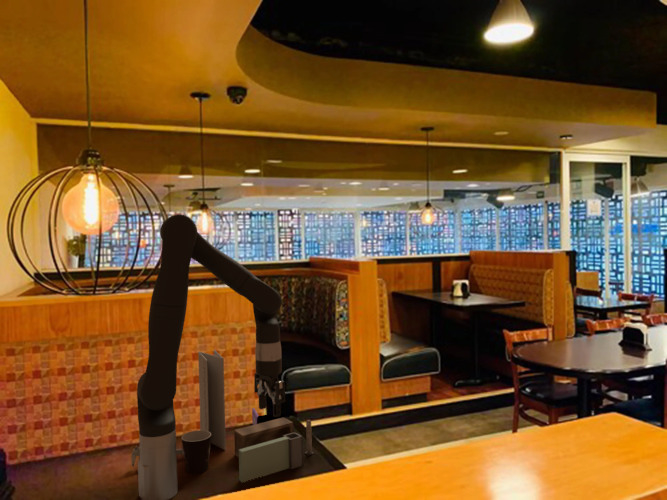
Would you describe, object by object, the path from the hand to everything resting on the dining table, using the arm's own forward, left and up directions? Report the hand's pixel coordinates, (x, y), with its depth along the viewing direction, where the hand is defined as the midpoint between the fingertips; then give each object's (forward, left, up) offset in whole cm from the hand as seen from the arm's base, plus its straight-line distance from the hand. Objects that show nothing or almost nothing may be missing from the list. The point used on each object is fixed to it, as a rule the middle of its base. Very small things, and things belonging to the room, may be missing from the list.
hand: (269, 412), depth 147 cm
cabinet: (+6, +15, -18) cm, 24 cm away
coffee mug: (-15, +17, -18) cm, 29 cm away
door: (-2, 0, -18) cm, 18 cm away
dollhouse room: (+16, +31, -18) cm, 40 cm away
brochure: (-5, +31, -18) cm, 36 cm away
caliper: (-21, +27, -19) cm, 39 cm away
